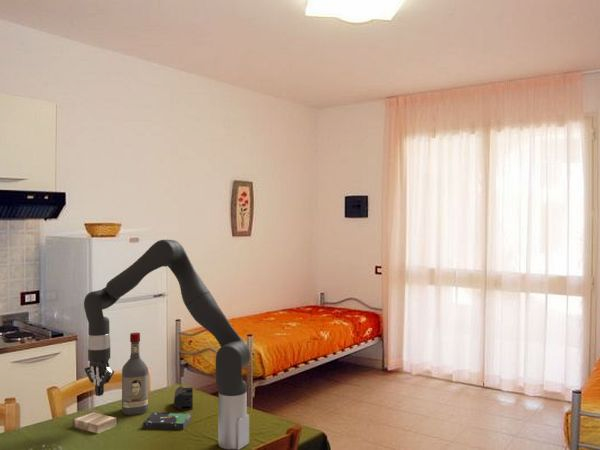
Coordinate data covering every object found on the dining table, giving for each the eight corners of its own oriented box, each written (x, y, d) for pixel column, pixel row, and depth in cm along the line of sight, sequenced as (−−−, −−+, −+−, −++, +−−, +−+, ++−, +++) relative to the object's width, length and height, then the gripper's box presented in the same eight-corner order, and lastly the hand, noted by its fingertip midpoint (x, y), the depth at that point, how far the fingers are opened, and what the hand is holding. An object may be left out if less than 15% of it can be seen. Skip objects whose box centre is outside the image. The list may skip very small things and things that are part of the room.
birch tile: (116, 417, 187) (91, 411, 193) (98, 425, 180) (72, 418, 186) (116, 426, 187) (91, 419, 193) (98, 434, 180) (72, 427, 186)
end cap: (174, 402, 211) (174, 386, 211) (192, 401, 213) (192, 385, 213) (173, 411, 202) (173, 394, 202) (192, 410, 203) (192, 392, 203)
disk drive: (142, 430, 184) (184, 431, 184) (142, 422, 184) (184, 423, 184) (152, 419, 195) (191, 419, 194) (152, 412, 195) (191, 412, 194)
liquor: (121, 408, 204) (121, 332, 204) (145, 405, 208) (145, 330, 208) (123, 416, 196) (123, 336, 196) (148, 413, 199) (148, 334, 199)
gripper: (120, 346, 186) (120, 395, 186) (94, 342, 192) (95, 389, 192) (103, 350, 179) (104, 401, 179) (77, 346, 185) (77, 395, 185)
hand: (99, 395), depth 185 cm, fingers closed
